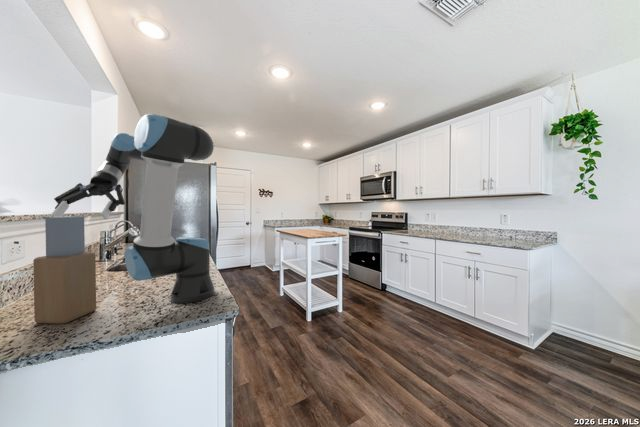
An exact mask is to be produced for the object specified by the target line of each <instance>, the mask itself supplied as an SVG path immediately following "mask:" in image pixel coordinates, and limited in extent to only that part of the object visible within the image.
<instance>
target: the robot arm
mask: <svg viewBox="0 0 640 427" xmlns="http://www.w3.org/2000/svg"><path fill="white" fill-rule="evenodd" d="M109 146H110V148H109V150H108V153H107V156H106V158H105V159H104V162H103V163H102V165H101V166H99V168H98V169H97V171H96V172H95V173H94V175H93V176H92V177H91V178H90V182H89V184H86V185H85V184H82V182H81V183H77V184H76V185H75V186H74V187H71V188H70V189H69V190H67V191H64V192H63V193H62V194H60V195H57V196H56V197H54V199H53V200H54V202H56V204H57V205H56V206H55V207H54V210H53V212H51V216H52V217H63V216H64V214H65V213H66V211H67V210H68V209H69V207H70V205H71V204H73V203H75V202H78V201H80V200H82V199H84V198H91V197H93V196H94V197H95V196H99V197H103V196H104V195H105V196H106V197H107V198H108V199H109V201H108V202H107V204H106V205H105V207H104V208H103V210H102V212H101V213H100V215H101V217H102V218H103V219H104V220H108V219H109V217H110V215H111V214H112V212H114V211H116V210H117V207H118V206H119V205H120V206H121V205H122V206H123V205H126V202H125V198H124V194H123V190H124V188H122V185H121V184H120V183H119V182H120V180H121V179H122V177H123V175H124V174H125V172H126V171H127V169H128V168H129V167H130V165H131V162H132V160H137V161H145V163H146V166H145V175H144V176H145V178H144V188H143V199H142V208H141V218H140V219H141V220H140V232H139V235H138V236H136V237H135V238H134V239H133V245H130V246H127V247H126V248H125V250H124V254H123V255H124V262H125V267H126V270H127V272H128V275H129V276H130V277H131V279H132V280H135V281H138V282H139V281H140V282H141V281H146V280H148V281H149V280H152V279H157V278H161V277H166V276H171V275H175V281H174V284H173V287H172V289H171V293H170V300H171V302H173V303H178V304H186V303H195V302H200V301H203V300H206V299H208V298H210V297H213V295H214V294H215V286H214V283H213V280H212V278H211V275H210V252H211V249H210V242H209V240H208V239H206V238H200V237H176V238H174V237H172V235H171V234H172V227H173V226H172V225H173V219H174V218H173V217H174V210H175V209H174V207H175V201H176V200H175V198H176V192H177V191H176V190H177V183H178V182H177V181H178V173H179V168H180V167H182V166H184V165H185V160H191V161H195V162H196V161H204V160H207V159H208V158H209V157H211V156H212V154H213V152H214V147H215V146H214V141H213V139H212V137H211V135H210V134H209V133H208V132H207V131H206V130H204V129H203V128H200V127H199V126H196V125H195V124H194V125H193V124H189V123H185V122H183V121H179V120H177V119H173V118H170V117H167V116H164V115H159V114H156V113H147V114H145V115H143V116H142V117H140V119H139V121H138V123H137V125H136V127H135V130H134V135H130V134H129V133H126V132H119V133H116V134H115V135H114V137H113V138H112V141H111V144H110V145H109ZM113 191H115V192H116V195H117V199H116V197H115V196H113V195H112V193H111V192H113Z"/></svg>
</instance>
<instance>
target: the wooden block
mask: <svg viewBox="0 0 640 427" xmlns="http://www.w3.org/2000/svg"><path fill="white" fill-rule="evenodd" d="M32 262H33V298H34V299H33V304H34V305H33V308H34V314H33V316H34V322H35V323H36V324H67V323H69V322H72V321H74V320H77V319H78V318H81V317H83V316H85V315H88V314H89V313H92V312H94V311H96V309H97V276H96V275H97V274H96V272H97V271H96V270H97V268H96V267H97V266H96V262H97V261H96V253H94V252H92V251H91V252H90V251H89V252H88V251H87V252H86V251H85V253H80V254H76V255H72V256H56V257H46V255H43V256H37V257H35V258H34V259H33V261H32Z"/></svg>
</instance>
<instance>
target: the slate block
mask: <svg viewBox="0 0 640 427" xmlns="http://www.w3.org/2000/svg"><path fill="white" fill-rule="evenodd" d="M44 219H45V227H44V228H45V256H46V257H56V256H72V255H76V254H80V253H85V252H86V251H85V249H86V245H85V243H86V242H85V239H86V238H85V216H62V217H54V216H46V217H45V218H44Z"/></svg>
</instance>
